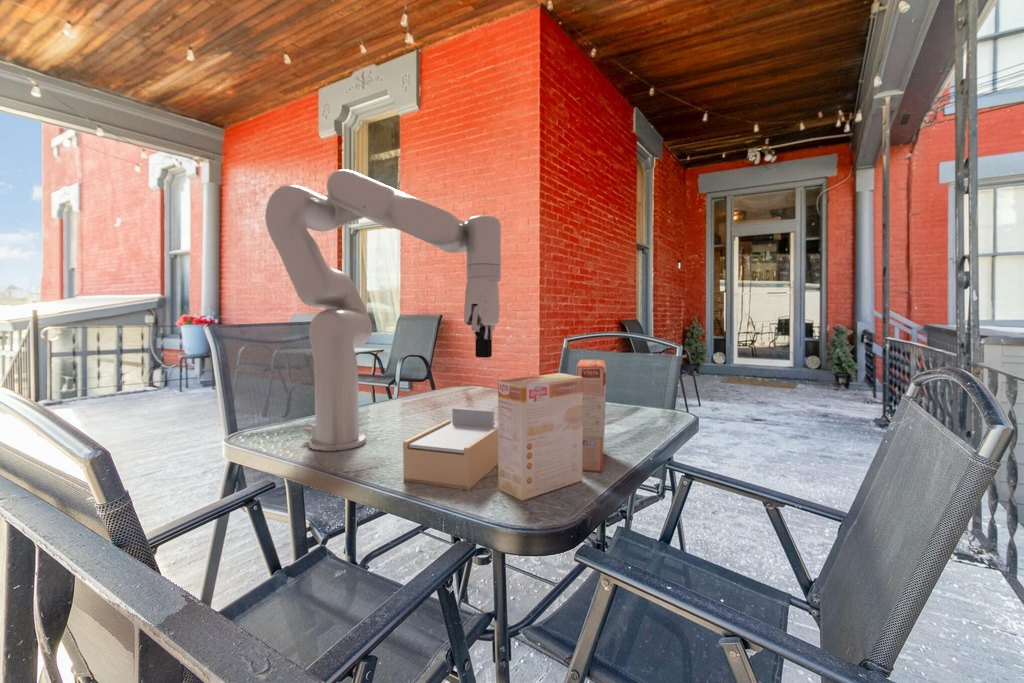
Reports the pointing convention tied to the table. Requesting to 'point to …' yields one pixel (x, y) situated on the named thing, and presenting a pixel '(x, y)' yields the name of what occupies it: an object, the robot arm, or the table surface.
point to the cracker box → (593, 412)
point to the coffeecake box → (539, 434)
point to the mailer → (450, 461)
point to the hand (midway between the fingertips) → (483, 356)
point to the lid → (458, 431)
